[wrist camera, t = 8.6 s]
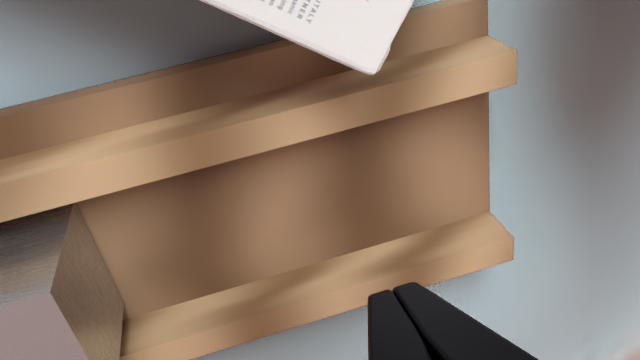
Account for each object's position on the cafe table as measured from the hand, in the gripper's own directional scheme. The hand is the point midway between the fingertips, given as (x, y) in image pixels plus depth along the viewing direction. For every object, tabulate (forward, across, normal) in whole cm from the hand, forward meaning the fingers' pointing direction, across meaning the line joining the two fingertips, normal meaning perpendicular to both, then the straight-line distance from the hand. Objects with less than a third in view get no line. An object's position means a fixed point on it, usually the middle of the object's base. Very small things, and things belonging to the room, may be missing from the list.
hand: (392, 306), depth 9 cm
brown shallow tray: (+12, +4, +5) cm, 14 cm away
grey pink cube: (+12, +10, +5) cm, 16 cm away
